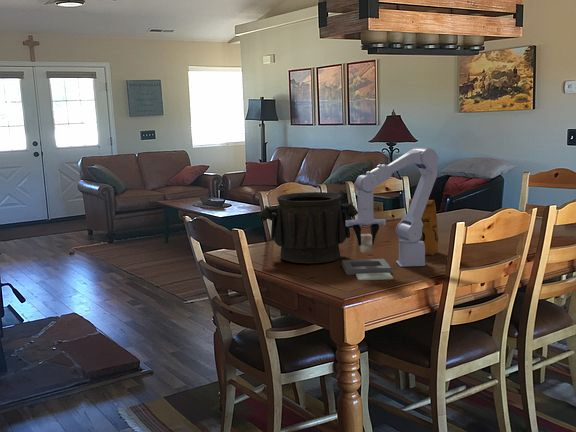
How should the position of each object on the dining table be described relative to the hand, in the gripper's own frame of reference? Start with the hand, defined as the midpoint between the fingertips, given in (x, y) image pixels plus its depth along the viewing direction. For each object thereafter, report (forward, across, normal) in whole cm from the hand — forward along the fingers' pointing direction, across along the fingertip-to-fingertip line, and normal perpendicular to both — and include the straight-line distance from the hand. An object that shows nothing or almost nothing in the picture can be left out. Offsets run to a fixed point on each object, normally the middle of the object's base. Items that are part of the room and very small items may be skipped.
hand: (365, 244), depth 233 cm
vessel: (+9, -19, +21) cm, 30 cm away
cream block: (+2, 0, 0) cm, 2 cm away
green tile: (+9, +1, -12) cm, 15 cm away
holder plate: (+9, 0, 0) cm, 9 cm away
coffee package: (+9, +27, +23) cm, 37 cm away
